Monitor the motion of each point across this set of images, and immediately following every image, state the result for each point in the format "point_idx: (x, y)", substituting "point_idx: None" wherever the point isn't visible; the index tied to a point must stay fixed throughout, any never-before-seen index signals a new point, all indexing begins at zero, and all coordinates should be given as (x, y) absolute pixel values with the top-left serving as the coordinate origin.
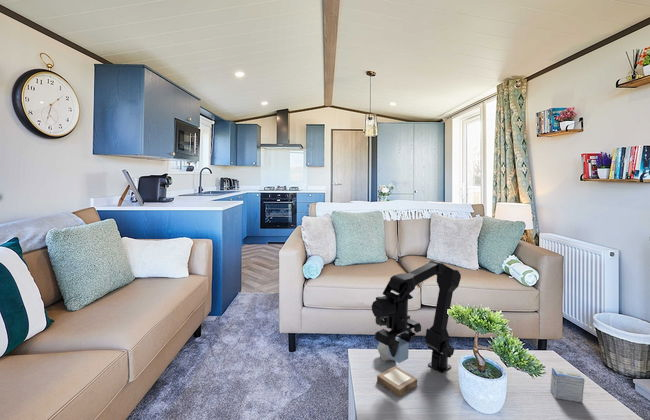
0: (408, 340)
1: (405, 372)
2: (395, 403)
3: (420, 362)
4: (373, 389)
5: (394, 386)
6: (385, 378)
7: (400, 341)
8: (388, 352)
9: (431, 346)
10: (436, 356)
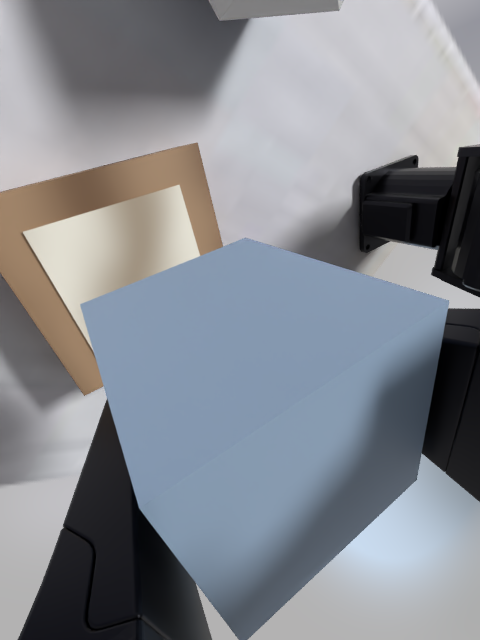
0: (447, 465)
1: (217, 245)
2: (32, 417)
3: (353, 131)
4: None
5: (67, 364)
6: (30, 272)
7: (363, 476)
8: (91, 338)
9: (475, 221)
10: (421, 230)
